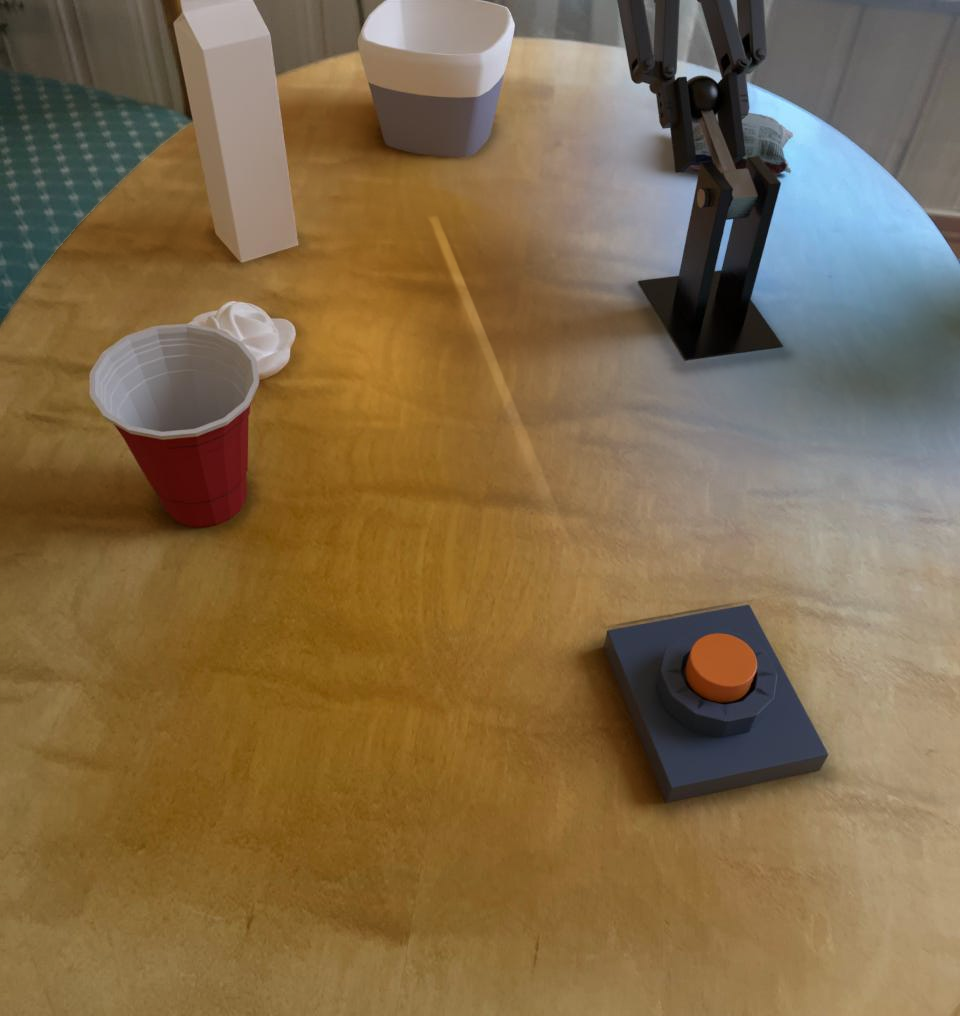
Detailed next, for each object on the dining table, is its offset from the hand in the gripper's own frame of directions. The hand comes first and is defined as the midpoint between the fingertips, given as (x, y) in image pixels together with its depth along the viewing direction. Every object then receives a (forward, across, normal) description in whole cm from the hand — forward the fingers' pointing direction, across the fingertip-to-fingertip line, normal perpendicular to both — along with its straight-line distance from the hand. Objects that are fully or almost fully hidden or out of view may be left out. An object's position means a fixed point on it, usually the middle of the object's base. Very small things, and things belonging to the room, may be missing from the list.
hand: (710, 163), depth 84 cm
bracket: (+12, 0, -5) cm, 13 cm away
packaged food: (-7, -14, -24) cm, 28 cm away
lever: (0, 0, 0) cm, 0 cm away
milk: (-3, +38, -20) cm, 43 cm away
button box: (+40, +16, +23) cm, 49 cm away
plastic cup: (+22, +45, +5) cm, 50 cm away
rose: (+9, +41, -8) cm, 42 cm away
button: (+37, +16, +26) cm, 48 cm away
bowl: (-16, +16, -32) cm, 39 cm away
